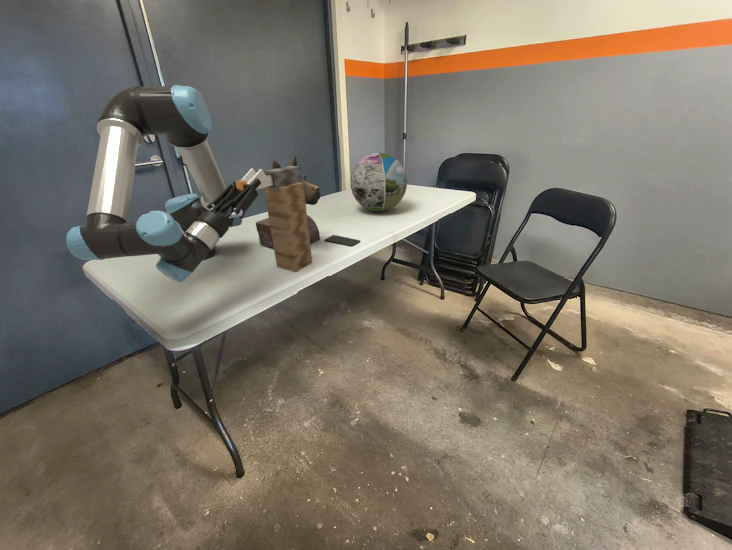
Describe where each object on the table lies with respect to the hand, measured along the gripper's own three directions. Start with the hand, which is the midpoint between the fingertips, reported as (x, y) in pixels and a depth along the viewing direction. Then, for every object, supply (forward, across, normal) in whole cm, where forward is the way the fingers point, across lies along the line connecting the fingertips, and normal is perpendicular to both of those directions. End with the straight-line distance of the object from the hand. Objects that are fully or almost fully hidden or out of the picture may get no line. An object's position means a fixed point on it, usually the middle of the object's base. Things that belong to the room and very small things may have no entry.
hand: (258, 172), depth 97 cm
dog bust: (+5, -13, -42) cm, 45 cm away
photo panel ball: (+57, -8, -72) cm, 93 cm away
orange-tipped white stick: (+1, 0, -6) cm, 6 cm away
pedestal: (-9, 0, -34) cm, 35 cm away
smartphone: (+15, +2, -49) cm, 51 cm away
